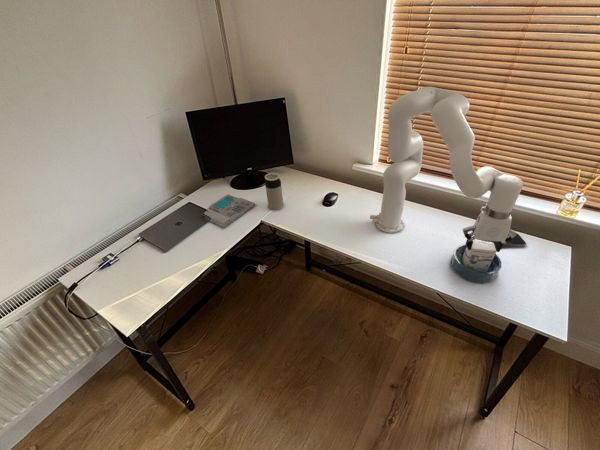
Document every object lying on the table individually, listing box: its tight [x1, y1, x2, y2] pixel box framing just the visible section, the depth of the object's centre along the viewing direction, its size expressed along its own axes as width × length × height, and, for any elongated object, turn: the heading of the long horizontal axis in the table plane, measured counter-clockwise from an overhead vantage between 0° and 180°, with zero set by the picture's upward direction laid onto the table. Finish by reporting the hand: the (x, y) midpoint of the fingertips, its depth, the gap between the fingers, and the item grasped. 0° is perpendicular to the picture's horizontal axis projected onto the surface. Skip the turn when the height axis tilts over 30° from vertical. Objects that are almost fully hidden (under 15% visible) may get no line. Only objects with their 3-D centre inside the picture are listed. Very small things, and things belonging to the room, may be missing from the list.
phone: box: [483, 233, 527, 248], centre depth 130 cm, size 8×1×15 cm
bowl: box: [450, 243, 502, 284], centre depth 118 cm, size 16×16×6 cm
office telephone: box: [203, 193, 256, 229], centre depth 159 cm, size 23×3×20 cm
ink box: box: [461, 239, 497, 272], centre depth 115 cm, size 9×5×12 cm, turn 78°
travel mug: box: [264, 172, 284, 211], centre depth 155 cm, size 8×8×18 cm
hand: (482, 248), depth 113 cm, fingers open, 9 cm apart
